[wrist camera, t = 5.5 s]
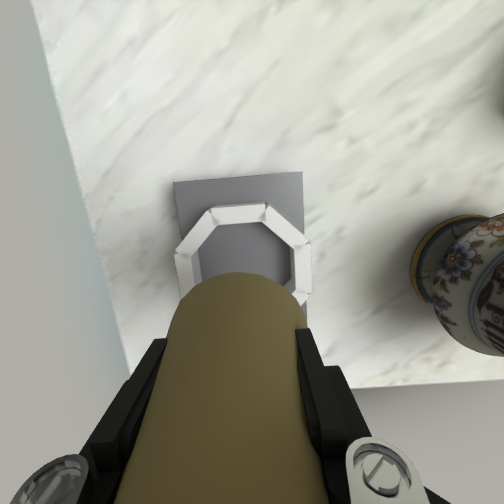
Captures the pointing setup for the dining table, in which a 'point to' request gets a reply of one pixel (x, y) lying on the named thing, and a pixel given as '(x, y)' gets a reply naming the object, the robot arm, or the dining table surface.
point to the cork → (227, 404)
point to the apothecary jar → (465, 279)
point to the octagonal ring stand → (244, 231)
